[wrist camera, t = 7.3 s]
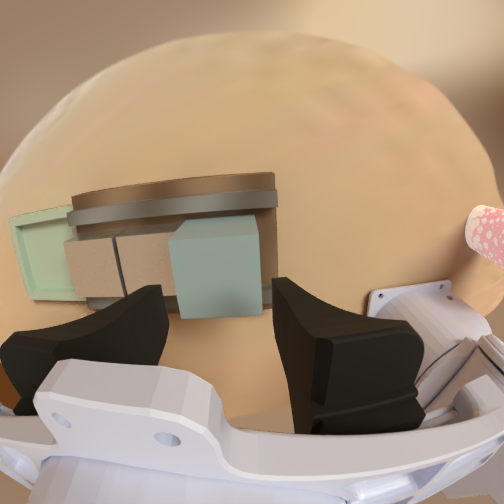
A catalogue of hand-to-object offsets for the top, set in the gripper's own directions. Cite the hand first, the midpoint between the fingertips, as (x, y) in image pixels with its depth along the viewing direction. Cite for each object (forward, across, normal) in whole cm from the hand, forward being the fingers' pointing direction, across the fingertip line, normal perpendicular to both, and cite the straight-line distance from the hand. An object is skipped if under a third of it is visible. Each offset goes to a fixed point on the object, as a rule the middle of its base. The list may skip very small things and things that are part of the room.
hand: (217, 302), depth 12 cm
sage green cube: (+7, 0, 0) cm, 7 cm away
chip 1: (+7, +9, 0) cm, 11 cm away
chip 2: (+7, +4, 0) cm, 9 cm away
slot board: (+9, +4, 0) cm, 10 cm away
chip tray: (+9, +16, 0) cm, 18 cm away
